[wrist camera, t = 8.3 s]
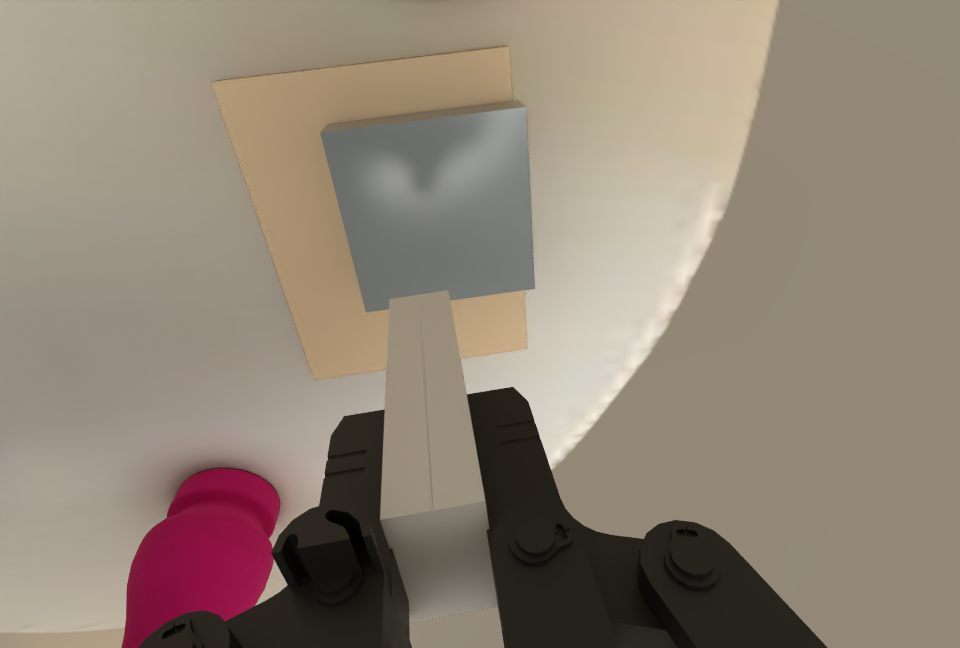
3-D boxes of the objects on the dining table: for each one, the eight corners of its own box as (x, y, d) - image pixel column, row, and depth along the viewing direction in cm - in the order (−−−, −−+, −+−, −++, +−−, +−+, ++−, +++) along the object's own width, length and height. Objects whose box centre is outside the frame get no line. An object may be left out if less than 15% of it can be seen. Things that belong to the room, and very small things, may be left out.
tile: (365, 312, 23) (534, 288, 24) (320, 132, 19) (526, 106, 19) (369, 290, 25) (525, 268, 26) (329, 122, 21) (515, 99, 21)
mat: (315, 373, 28) (314, 380, 28) (216, 80, 20) (211, 82, 20) (525, 343, 29) (527, 348, 28) (507, 46, 21) (509, 46, 20)
